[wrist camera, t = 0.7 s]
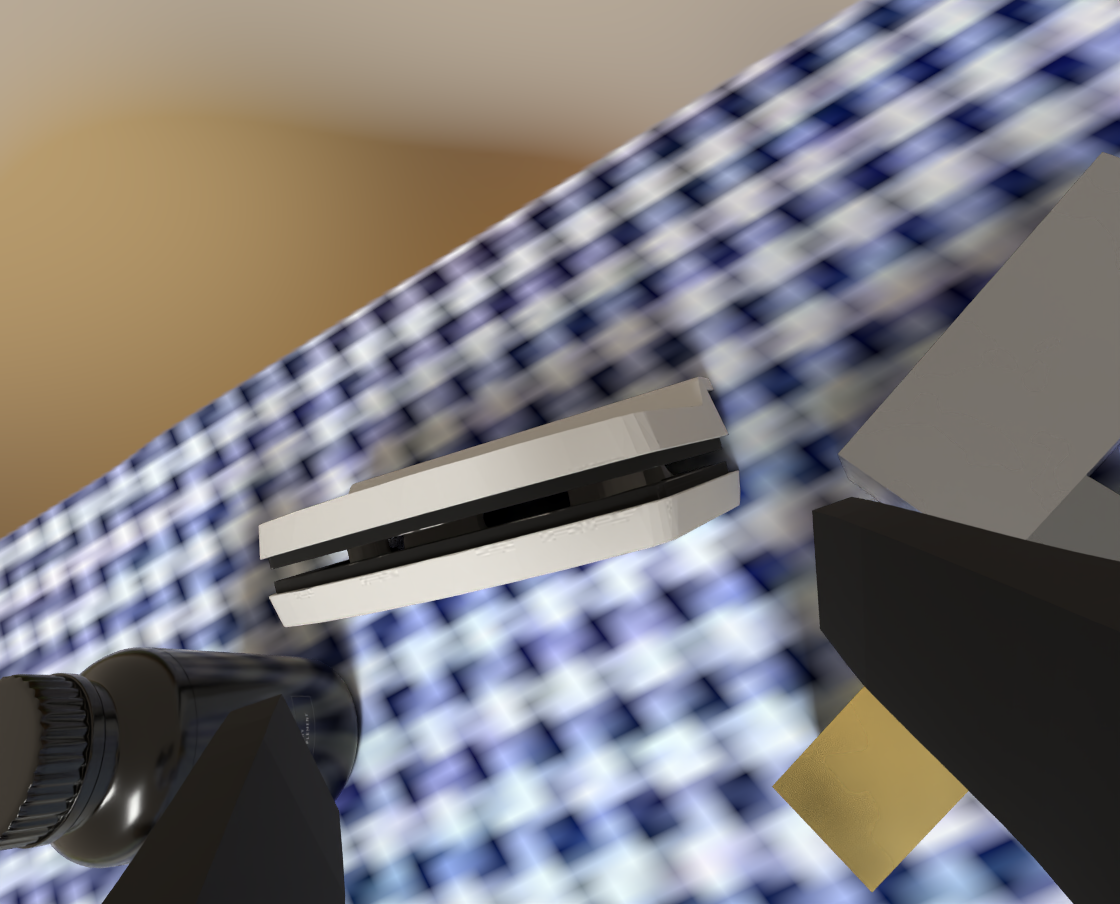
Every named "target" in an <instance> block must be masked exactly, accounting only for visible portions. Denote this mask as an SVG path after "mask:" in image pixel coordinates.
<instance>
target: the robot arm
mask: <svg viewBox="0 0 1120 904" xmlns="http://www.w3.org/2000/svg"><path fill="white" fill-rule="evenodd" d="M812 514H813V529H814V544H815V559H816V574H817V589H818V604H819V619H820V629H821V631H822V632H823V633H824V635H825V636H826V637H827V639H828V640H829V641H830V643H831V644H832V645H833V647H834V648H835V649H836V651H837V652H838V653H839V655H840V656H841V657H842V659H843V660H844V661H845V663H846V664H847V665H848V666H849V668H850V669H851V670H852V671H853V673H854V674H855V675H856V676H857V677H858V679H859V680H860V681H861V682H862V684H863V685H864V686H865V687H866V689H867V690H868V691H869V692H870V693H871V694H872V695H873V696H874V697H875V698H876V699H877V700H878V701H879V702H880V703H881V704H882V705H883V706H884V707H885V708H886V709H887V710H888V711H889V712H890V713H891V714H892V715H893V716H894V717H895V718H896V719H897V720H898V721H899V722H900V723H901V724H902V725H903V726H904V727H905V728H906V729H907V730H908V731H909V732H910V733H911V734H912V735H913V736H914V737H915V738H916V739H917V740H918V741H919V742H920V743H921V744H922V745H923V746H924V747H925V748H926V749H927V750H928V751H929V752H930V753H931V754H932V755H933V756H934V757H935V758H936V759H937V760H938V761H939V762H940V763H941V764H942V765H943V766H944V767H945V768H946V769H947V770H948V771H949V772H950V773H951V774H952V775H953V776H954V777H955V778H956V779H957V780H958V781H959V782H960V783H961V784H962V785H963V786H964V787H965V788H966V789H967V790H968V791H969V792H970V793H971V794H972V795H973V796H974V797H975V798H976V799H977V800H978V801H979V802H981V803H982V804H983V805H984V806H985V807H986V808H987V809H988V810H989V811H990V812H991V813H992V814H993V815H994V816H995V817H996V818H997V819H998V820H999V821H1000V822H1001V823H1002V824H1003V825H1004V826H1005V827H1006V828H1007V830H1008V831H1009V832H1010V833H1011V834H1012V835H1013V836H1014V837H1015V838H1016V839H1017V840H1018V841H1019V842H1020V843H1021V844H1022V845H1023V847H1024V848H1025V849H1026V850H1027V851H1028V852H1029V853H1030V854H1031V855H1032V856H1033V857H1034V858H1035V859H1036V860H1037V862H1038V863H1039V864H1040V865H1041V866H1042V867H1043V869H1044V870H1045V871H1046V872H1047V873H1048V874H1049V876H1050V877H1051V878H1052V879H1053V880H1054V882H1055V883H1056V884H1057V885H1058V886H1059V887H1060V889H1061V890H1062V891H1063V892H1064V893H1065V894H1066V896H1067V897H1068V898H1069V899H1070V900H1071V901H1072V903H1073V904H1120V561H1116V560H1111V559H1107V558H1102V557H1097V556H1093V555H1088V554H1083V553H1079V552H1074V551H1070V550H1066V549H1062V548H1057V547H1053V546H1049V545H1045V544H1041V543H1037V542H1033V541H1028V540H1024V539H1020V538H1016V537H1013V536H1009V535H1005V534H1001V533H997V532H993V531H989V530H985V529H981V528H978V527H974V526H970V525H966V524H962V523H958V522H955V521H951V520H947V519H943V518H939V517H936V516H932V515H928V514H924V513H920V512H916V511H913V510H909V509H905V508H901V507H897V506H893V505H888V504H884V503H880V502H875V501H870V500H865V499H860V498H854V497H850V498H847V499H844V500H841V501H838V502H836V503H833V504H830V505H827V506H824V507H821V508H818V509H815V510H812ZM102 904H345V886H344V869H343V854H342V842H341V830H340V818H339V810H338V808H337V806H336V804H335V802H334V800H333V798H332V796H331V793H330V791H329V789H328V787H327V785H326V783H325V781H324V779H323V777H322V775H321V773H320V771H319V769H318V767H317V765H316V763H315V761H314V758H313V756H312V754H311V752H310V750H309V748H308V746H307V744H306V742H305V740H304V738H303V736H302V734H301V732H300V730H299V728H298V726H297V723H296V721H295V719H294V717H293V715H292V713H291V711H290V709H289V707H288V705H287V703H286V701H285V699H284V697H283V695H282V694H279V695H277V696H274V697H271V698H268V699H265V700H262V701H259V702H256V703H253V704H250V705H248V706H245V707H242V708H239V709H236V710H233V711H230V713H229V714H228V716H227V717H226V718H225V720H224V721H223V723H222V724H221V726H220V727H219V729H218V730H217V732H216V733H215V735H214V736H213V738H212V739H211V741H210V742H209V744H208V745H207V747H206V748H205V750H204V751H203V753H202V755H201V756H200V758H199V759H198V761H197V762H196V764H195V765H194V767H193V768H192V770H191V772H190V773H189V775H188V776H187V778H186V779H185V781H184V782H183V784H182V785H181V787H180V789H179V790H178V792H177V793H176V795H175V796H174V798H173V799H172V801H171V802H170V804H169V805H168V807H167V808H166V810H165V811H164V813H163V814H162V816H161V817H160V819H159V820H158V822H157V823H156V825H155V826H154V828H153V829H152V831H151V832H150V834H149V835H148V837H147V838H146V840H145V841H144V843H143V844H142V846H141V847H140V849H139V850H138V852H137V853H136V855H135V856H134V858H133V859H132V861H131V862H130V864H129V865H128V867H127V868H126V870H125V871H124V873H123V874H122V876H121V877H120V879H119V880H118V882H117V883H116V884H115V886H114V887H113V889H112V890H111V891H110V893H109V894H108V896H107V897H106V898H105V900H104V901H103V903H102Z"/></svg>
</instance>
